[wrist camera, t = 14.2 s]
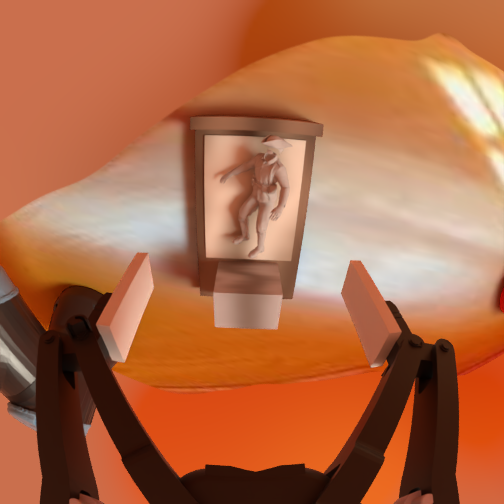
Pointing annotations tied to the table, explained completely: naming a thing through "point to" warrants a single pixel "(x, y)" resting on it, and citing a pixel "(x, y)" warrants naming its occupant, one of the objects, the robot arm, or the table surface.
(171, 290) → the table surface
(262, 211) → the soldier figure
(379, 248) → the table surface
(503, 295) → the toy clock
